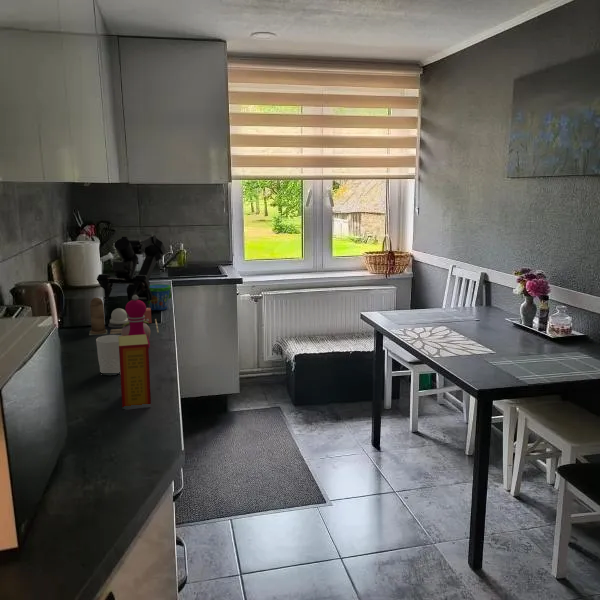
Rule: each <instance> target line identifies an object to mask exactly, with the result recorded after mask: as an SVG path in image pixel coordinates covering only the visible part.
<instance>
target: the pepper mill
mask: <svg viewBox="0 0 600 600" xmlns="http://www.w3.org/2000/svg"><path fill="white" fill-rule="evenodd" d="M132 299H133V300H131V301H129V300H128V302H127V303H126V304H125V309H124V310H125V311H126V313H127V318H128V321H129V323H130V331H129V334H128V335H140V334H146V333H145V331H144V327H143V322H144V320H145V318H144V317H145V316H144V313H145V312H146V305H145V303H144V302H143V301H141V300H138V296H137V295H133V297H132ZM146 336H147V335H146ZM149 339H150V338H149ZM149 339H148V337H147V341H148V348H149V349H150V346H151V344H150V340H149Z"/></svg>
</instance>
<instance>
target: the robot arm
mask: <svg viewBox="0 0 600 600" xmlns="http://www.w3.org/2000/svg"><path fill="white" fill-rule="evenodd" d="M113 246H114V249H115V250H116V252H117V254H118V257H119V258H120V259H122V260H121V261H113V262H112V264H111V265H112V267H111V271H112V272H114V276H115V277H111V275H110V274H108V273H107V274H106V273H100V274H97V277H96V280H97V283H98V284H99V287H101V288H102V289H103V290H104V298H105V301H108V300H109V298H110V295H111V292H112V290H113V288H112V287H113V284H122V285H127V287H126V294H127V299H128V302H129V301H131V300H133V299H132V297H133V295H137V296H138V300H141V301H143V302H144V303H145V305H146V308H149V304H148V301H150V300H152V292H151V290H150V288H149V287H150V285H151V282H150V278H151V276H152V273H153V272H154V271H153V270H154V268H155V265H156V263H157V262H158V261H161V260H162V258H163V257H164V255H165V253H166V248H165V245H164V243H163V242H162V240H160V239H158V238H157V237H156V235H155V234H143V235H141V236H140V237H137V238H136V239H129V238H128V236H121V238H119V239H118V240H116V241H115V242H114V244H113ZM143 254H144V255H145V257H144V259H143V262H142V265H141V267H140V269H139V272H138V273H136V269H137V265H139V264H140V263H139V256H138V255H143Z"/></svg>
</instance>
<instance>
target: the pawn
mask: <svg viewBox="0 0 600 600" xmlns="http://www.w3.org/2000/svg"><path fill="white" fill-rule="evenodd" d="M104 306H105V305H104V303H103V300H102V299H101V298H100V297H93V298H92V299H91V300H90V304H89V307H90V308H89V309H90V310H89V311H90V324H91V325H90V327H91V329H90V331H91V334H99V335H104V334H103V333H106V330H107V329H106V324H105V312H104V311H105V307H104Z"/></svg>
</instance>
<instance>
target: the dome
mask: <svg viewBox="0 0 600 600" xmlns="http://www.w3.org/2000/svg"><path fill="white" fill-rule="evenodd" d="M110 316H111V317H110V318H109V323H111V324H125V323H127V322H129V321H128V314H127V313H126V310H125V309H124V308H120V307H118V308H115V309H113V310H112V312H111V314H110Z"/></svg>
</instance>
